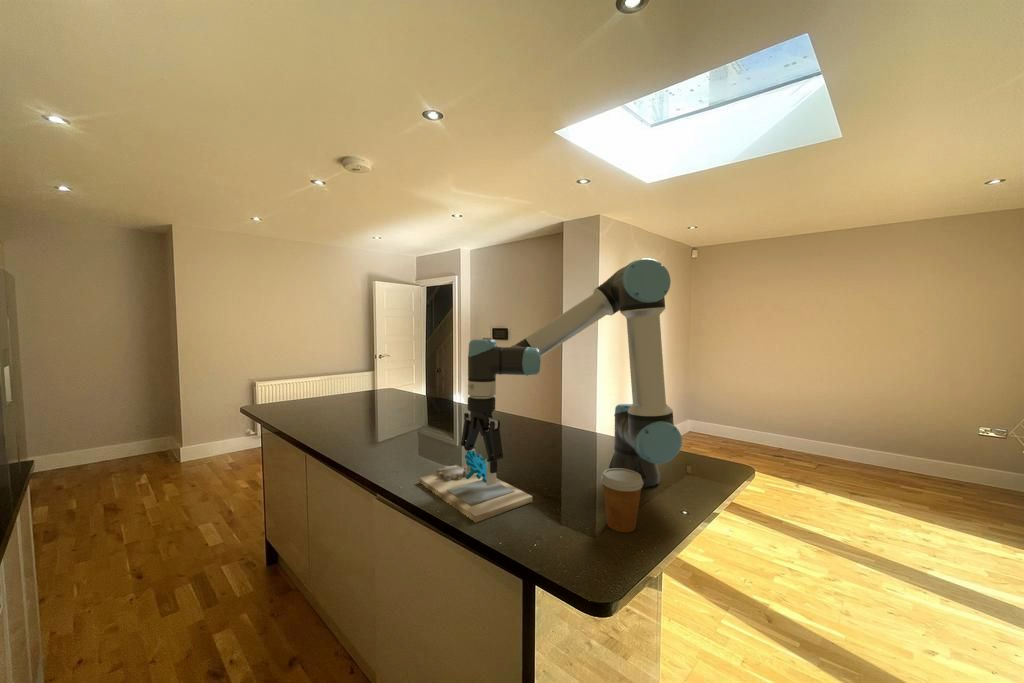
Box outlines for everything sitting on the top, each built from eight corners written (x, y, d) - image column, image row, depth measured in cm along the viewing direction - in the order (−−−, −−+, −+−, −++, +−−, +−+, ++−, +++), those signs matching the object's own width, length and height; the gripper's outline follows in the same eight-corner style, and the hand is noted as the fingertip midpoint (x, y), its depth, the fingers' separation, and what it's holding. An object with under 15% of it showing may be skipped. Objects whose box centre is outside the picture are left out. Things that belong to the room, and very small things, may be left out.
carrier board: (532, 501, 100) (532, 490, 100) (475, 522, 89) (475, 510, 89) (469, 469, 124) (469, 459, 124) (418, 482, 113) (418, 472, 112)
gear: (486, 483, 96) (463, 451, 99) (470, 498, 97) (447, 466, 100) (501, 474, 106) (479, 445, 109) (486, 487, 107) (465, 459, 110)
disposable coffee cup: (651, 533, 85) (652, 480, 85) (614, 539, 82) (615, 484, 82) (627, 513, 94) (628, 465, 94) (592, 518, 91) (593, 469, 91)
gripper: (449, 392, 109) (448, 469, 109) (494, 403, 92) (493, 495, 92) (471, 390, 113) (470, 464, 114) (518, 400, 96) (516, 488, 97)
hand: (480, 478), depth 103 cm, fingers closed on gear, 9 cm apart
